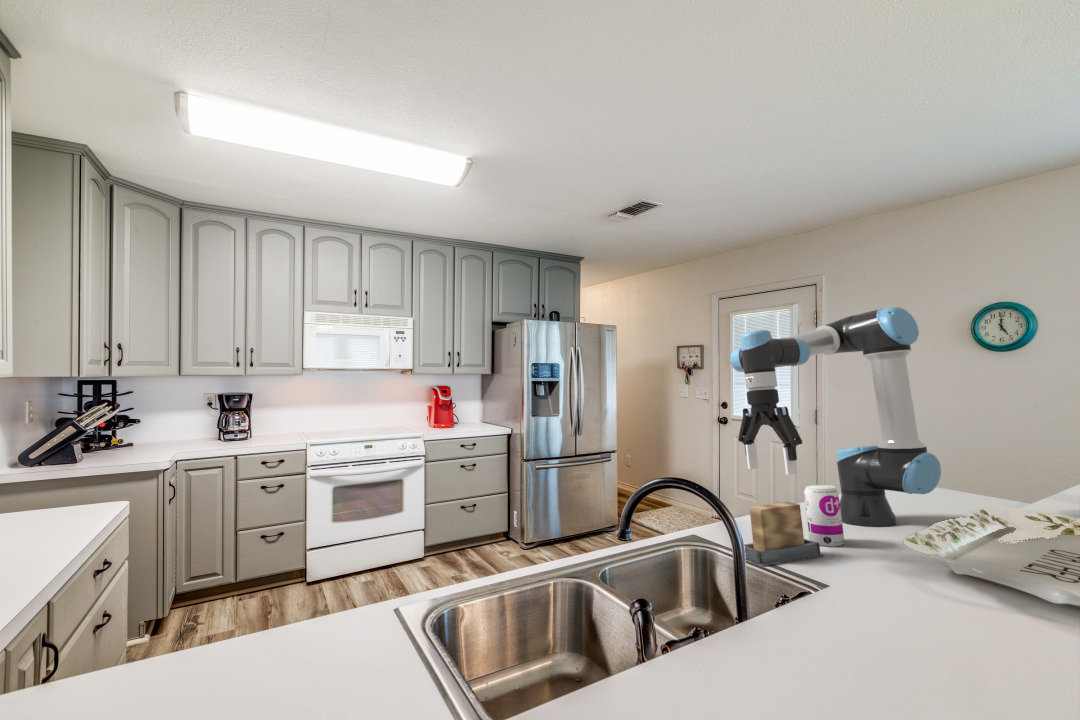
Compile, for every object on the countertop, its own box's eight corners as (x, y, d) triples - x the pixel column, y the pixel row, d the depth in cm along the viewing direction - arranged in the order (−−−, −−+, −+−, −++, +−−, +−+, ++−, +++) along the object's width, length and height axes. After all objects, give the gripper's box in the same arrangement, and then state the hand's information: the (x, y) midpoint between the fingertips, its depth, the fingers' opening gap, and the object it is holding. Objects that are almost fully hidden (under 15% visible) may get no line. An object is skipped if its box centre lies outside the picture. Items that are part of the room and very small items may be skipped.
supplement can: (851, 546, 124) (844, 488, 126) (820, 548, 125) (813, 489, 126) (833, 538, 133) (826, 483, 134) (803, 539, 133) (797, 485, 134)
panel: (793, 549, 123) (787, 502, 125) (805, 553, 119) (799, 504, 121) (754, 555, 120) (749, 506, 122) (765, 559, 116) (760, 509, 118)
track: (795, 547, 126) (794, 535, 127) (823, 556, 118) (822, 543, 118) (738, 556, 122) (737, 544, 122) (763, 566, 113) (761, 553, 113)
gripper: (719, 392, 136) (728, 468, 133) (785, 386, 112) (797, 478, 109) (742, 391, 138) (750, 465, 135) (811, 385, 114) (823, 474, 111)
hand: (771, 471), depth 122 cm, fingers open, 13 cm apart
